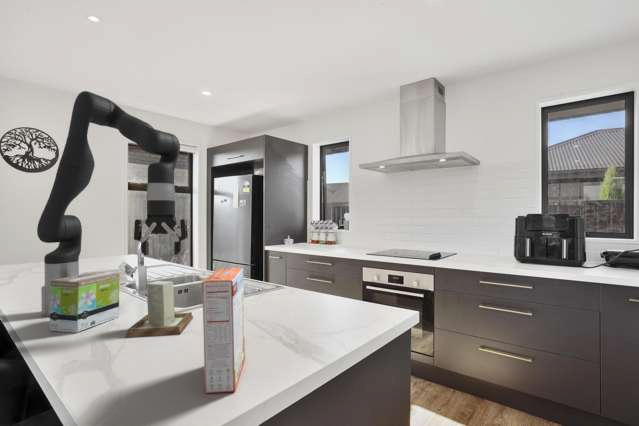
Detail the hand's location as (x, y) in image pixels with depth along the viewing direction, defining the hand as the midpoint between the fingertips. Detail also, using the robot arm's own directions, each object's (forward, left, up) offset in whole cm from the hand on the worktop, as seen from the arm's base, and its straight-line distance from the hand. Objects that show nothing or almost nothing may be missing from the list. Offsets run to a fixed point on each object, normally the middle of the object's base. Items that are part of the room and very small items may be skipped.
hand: (161, 254), depth 97 cm
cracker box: (+23, -33, -21) cm, 46 cm away
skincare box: (0, 0, -20) cm, 20 cm away
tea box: (-24, +7, -22) cm, 33 cm away
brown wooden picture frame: (0, 0, -21) cm, 21 cm away
